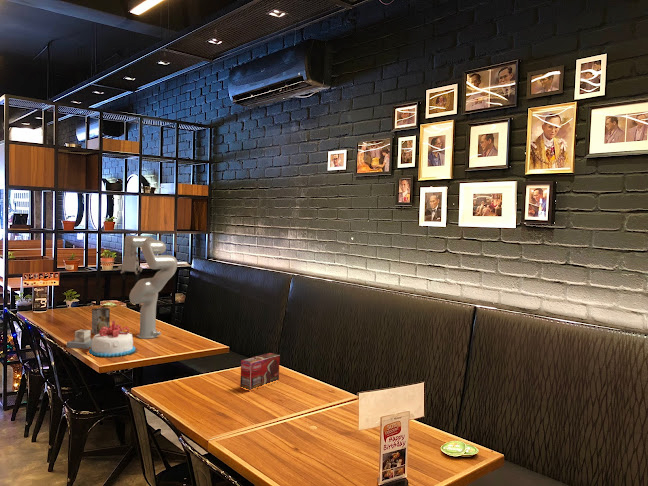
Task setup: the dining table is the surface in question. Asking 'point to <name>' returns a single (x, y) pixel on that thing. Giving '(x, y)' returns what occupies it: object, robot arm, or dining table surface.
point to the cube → (82, 335)
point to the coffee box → (100, 319)
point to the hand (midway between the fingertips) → (129, 279)
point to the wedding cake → (112, 343)
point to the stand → (79, 344)
